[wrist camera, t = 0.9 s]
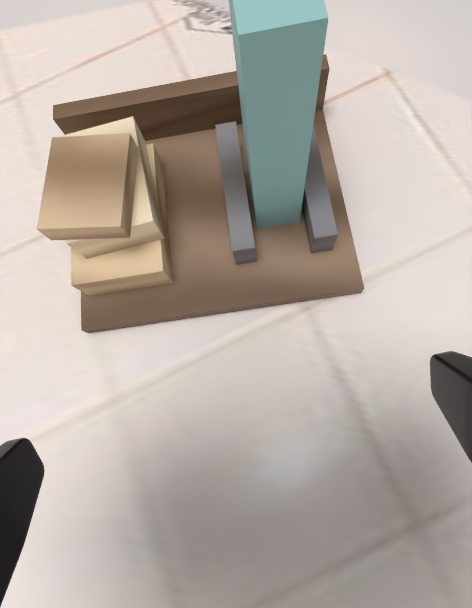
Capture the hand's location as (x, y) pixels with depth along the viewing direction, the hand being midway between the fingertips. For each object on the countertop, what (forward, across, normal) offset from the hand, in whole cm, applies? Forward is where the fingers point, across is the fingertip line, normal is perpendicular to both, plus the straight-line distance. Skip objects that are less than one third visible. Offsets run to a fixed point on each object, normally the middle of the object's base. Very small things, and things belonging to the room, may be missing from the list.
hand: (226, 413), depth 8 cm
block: (+16, -3, -2) cm, 17 cm away
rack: (+17, +1, -2) cm, 17 cm away
